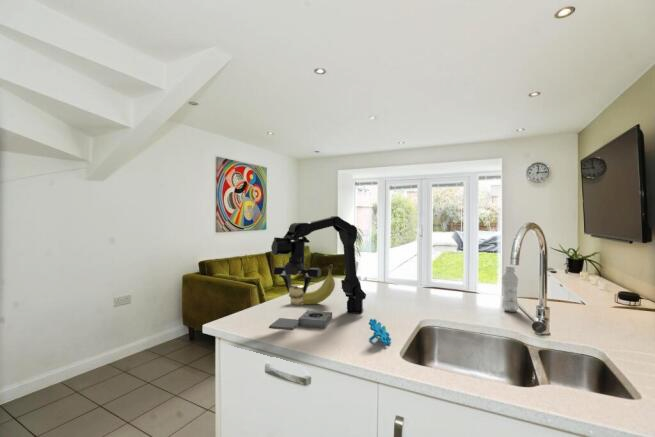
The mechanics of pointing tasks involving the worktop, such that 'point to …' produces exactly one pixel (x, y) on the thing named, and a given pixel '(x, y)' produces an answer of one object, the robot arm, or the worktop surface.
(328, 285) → the banana
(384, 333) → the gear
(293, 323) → the mat
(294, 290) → the end cover
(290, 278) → the robot arm
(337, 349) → the worktop surface
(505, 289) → the plastic bottle
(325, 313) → the housing
